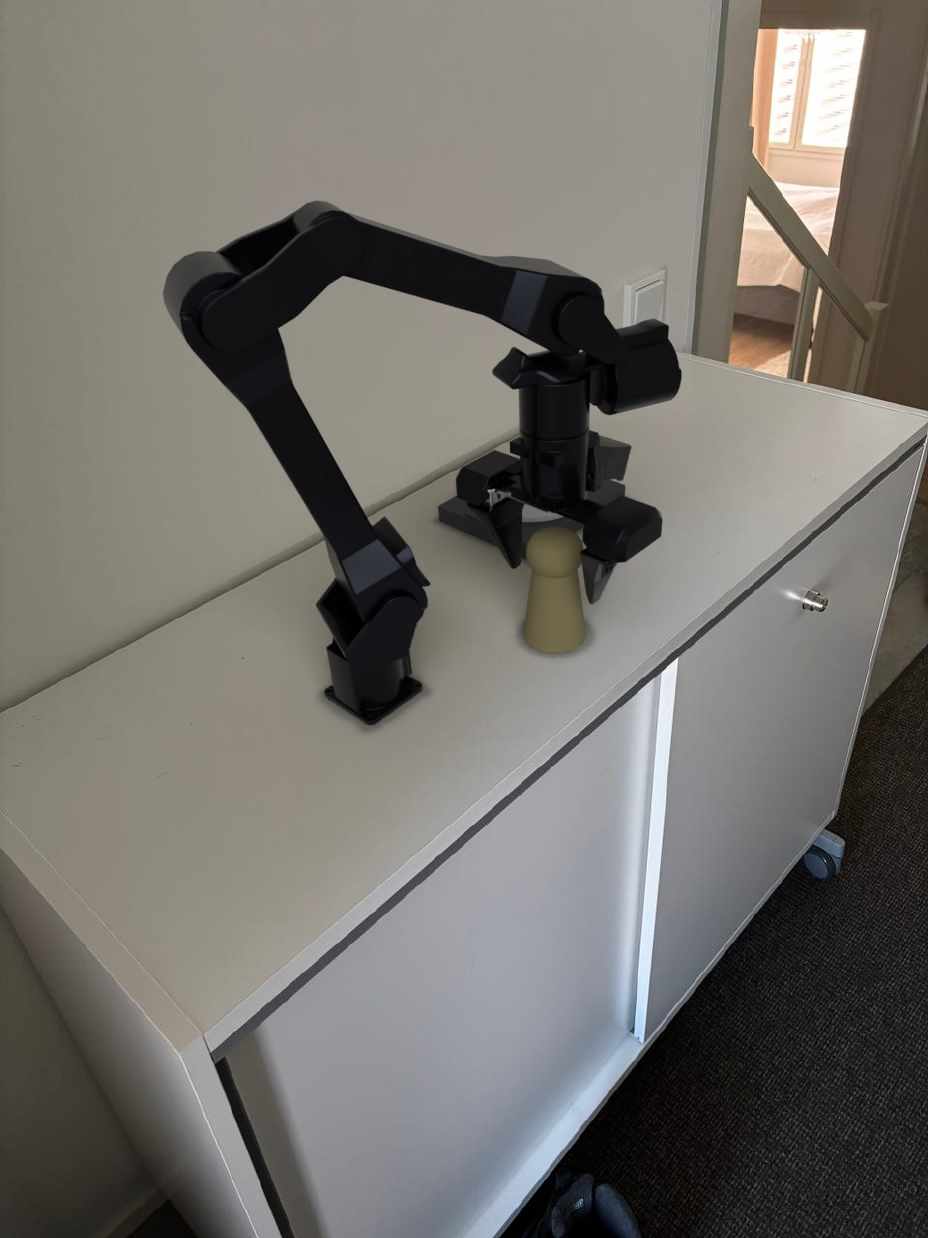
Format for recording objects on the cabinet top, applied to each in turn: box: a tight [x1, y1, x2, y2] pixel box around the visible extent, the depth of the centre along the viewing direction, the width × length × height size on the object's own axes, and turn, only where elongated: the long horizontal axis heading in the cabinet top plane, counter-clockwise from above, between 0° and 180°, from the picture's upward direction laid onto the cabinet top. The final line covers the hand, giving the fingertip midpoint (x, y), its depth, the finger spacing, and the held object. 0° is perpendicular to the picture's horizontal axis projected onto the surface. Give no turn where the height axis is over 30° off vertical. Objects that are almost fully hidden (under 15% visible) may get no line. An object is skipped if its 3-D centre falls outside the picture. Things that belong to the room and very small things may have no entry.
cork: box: [522, 527, 587, 654], centre depth 85 cm, size 6×6×11 cm
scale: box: [437, 479, 626, 559], centre depth 107 cm, size 17×14×3 cm
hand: (553, 583), depth 84 cm, fingers open, 9 cm apart
